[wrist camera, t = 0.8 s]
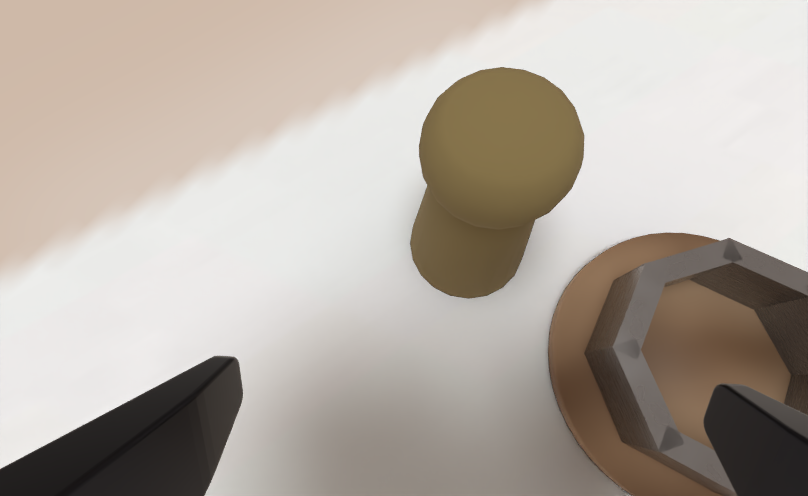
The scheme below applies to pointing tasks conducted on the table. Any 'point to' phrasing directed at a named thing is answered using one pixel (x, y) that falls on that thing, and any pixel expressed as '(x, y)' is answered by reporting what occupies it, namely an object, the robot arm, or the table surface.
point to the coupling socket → (673, 353)
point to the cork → (491, 176)
